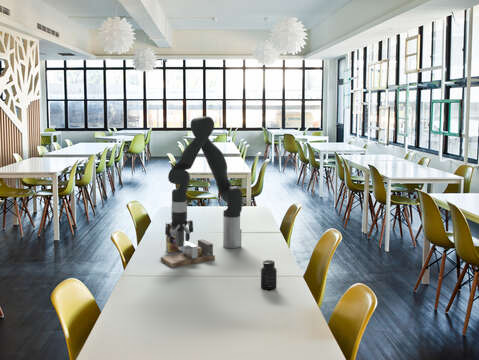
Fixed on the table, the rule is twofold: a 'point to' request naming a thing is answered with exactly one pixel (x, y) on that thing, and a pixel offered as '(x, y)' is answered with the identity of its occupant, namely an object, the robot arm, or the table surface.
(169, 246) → the candy box
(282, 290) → the table surface
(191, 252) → the jaw
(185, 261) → the board
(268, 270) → the supplement bottle
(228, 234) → the robot arm
